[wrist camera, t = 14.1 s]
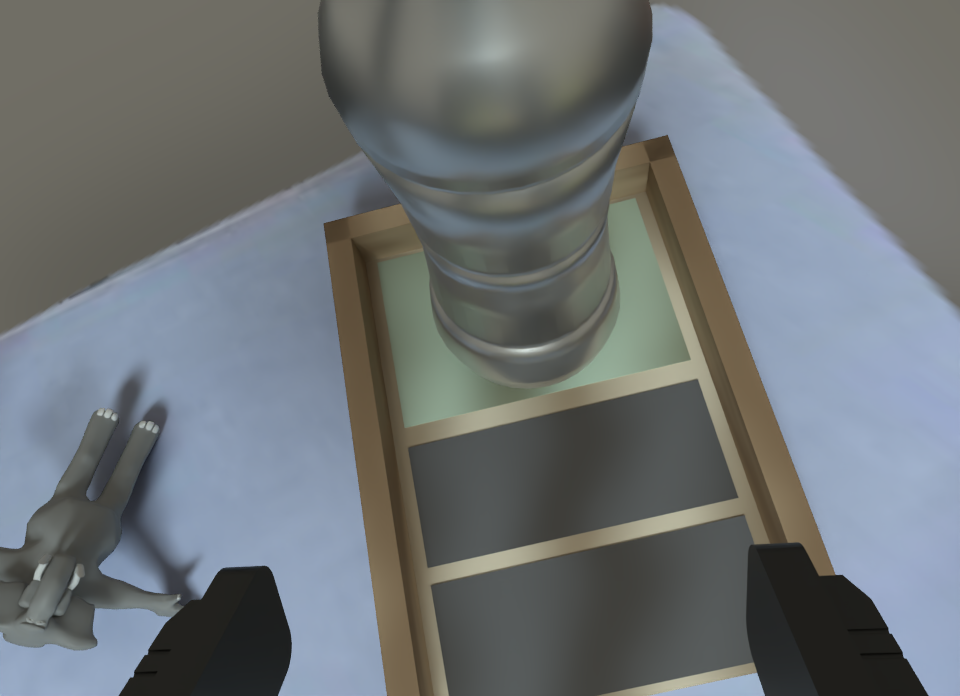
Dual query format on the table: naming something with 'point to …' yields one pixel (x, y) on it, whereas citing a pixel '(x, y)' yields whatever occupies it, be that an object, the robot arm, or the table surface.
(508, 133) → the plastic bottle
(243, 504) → the table surface
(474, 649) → the box
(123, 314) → the table surface
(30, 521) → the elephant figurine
